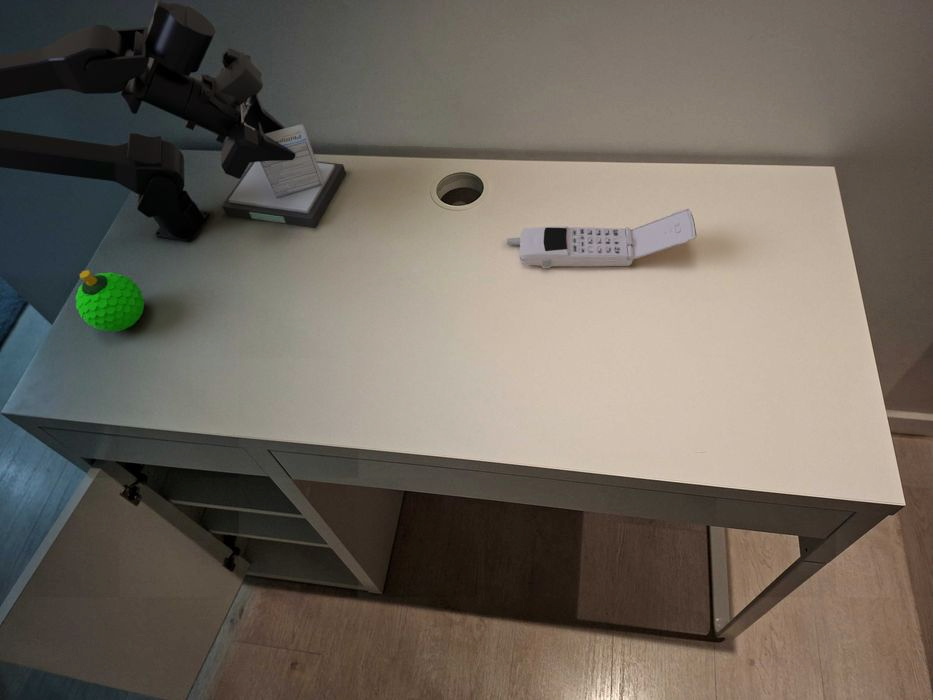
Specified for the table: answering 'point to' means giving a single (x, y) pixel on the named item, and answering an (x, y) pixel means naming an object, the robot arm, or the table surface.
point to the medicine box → (292, 163)
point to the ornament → (109, 301)
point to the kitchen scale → (283, 197)
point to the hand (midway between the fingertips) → (293, 147)
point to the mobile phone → (602, 242)
